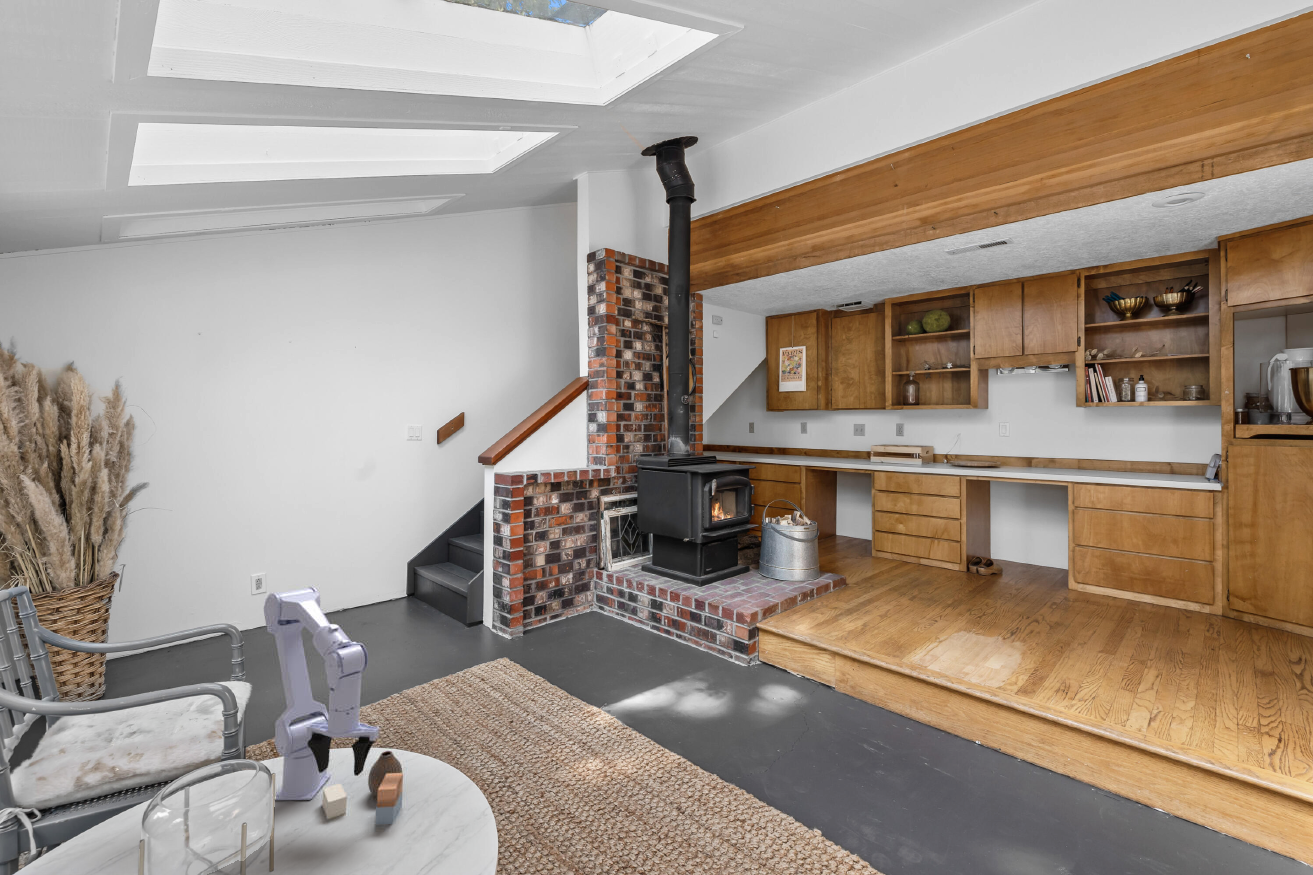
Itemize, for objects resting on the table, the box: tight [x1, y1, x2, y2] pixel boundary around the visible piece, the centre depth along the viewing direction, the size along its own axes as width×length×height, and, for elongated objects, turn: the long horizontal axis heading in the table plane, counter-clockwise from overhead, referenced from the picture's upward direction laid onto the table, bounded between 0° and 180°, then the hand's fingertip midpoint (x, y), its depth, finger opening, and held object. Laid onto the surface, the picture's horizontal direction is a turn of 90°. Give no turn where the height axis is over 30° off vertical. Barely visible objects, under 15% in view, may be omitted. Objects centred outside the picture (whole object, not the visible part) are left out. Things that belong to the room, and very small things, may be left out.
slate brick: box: [374, 791, 403, 826], centre depth 123 cm, size 6×3×4 cm, turn 7°
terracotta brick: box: [376, 772, 404, 808], centre depth 123 cm, size 6×3×4 cm, turn 9°
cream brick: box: [321, 782, 348, 820], centre depth 124 cm, size 6×3×4 cm, turn 39°
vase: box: [367, 750, 403, 799], centre depth 130 cm, size 7×7×9 cm
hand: (340, 771), depth 122 cm, fingers open, 7 cm apart
